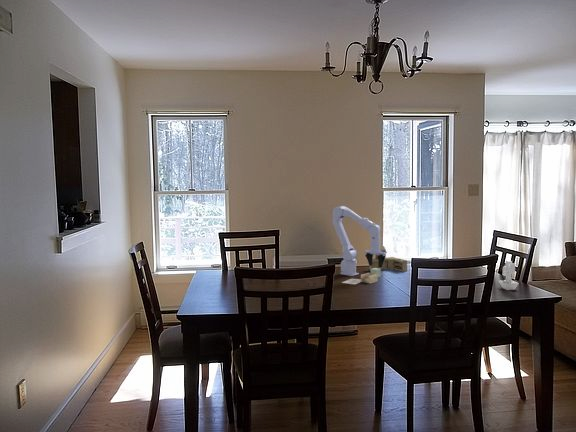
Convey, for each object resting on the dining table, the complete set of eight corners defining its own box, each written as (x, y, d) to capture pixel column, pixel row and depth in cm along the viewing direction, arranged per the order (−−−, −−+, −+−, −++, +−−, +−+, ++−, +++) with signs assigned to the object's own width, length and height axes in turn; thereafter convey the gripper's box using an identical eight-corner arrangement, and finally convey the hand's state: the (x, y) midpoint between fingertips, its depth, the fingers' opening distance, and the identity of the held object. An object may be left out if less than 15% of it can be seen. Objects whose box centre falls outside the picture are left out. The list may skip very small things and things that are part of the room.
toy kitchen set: (383, 274, 283) (382, 251, 282) (368, 270, 299) (368, 247, 297) (407, 271, 290) (407, 248, 289) (392, 267, 306) (391, 245, 304)
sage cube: (370, 276, 278) (370, 268, 278) (375, 275, 281) (374, 267, 281) (376, 277, 275) (376, 269, 274) (380, 276, 278) (380, 268, 277)
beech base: (360, 281, 266) (360, 274, 265) (368, 279, 271) (368, 272, 270) (370, 283, 261) (370, 276, 260) (377, 281, 265) (377, 274, 265)
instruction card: (341, 282, 265) (341, 282, 265) (351, 278, 274) (351, 278, 274) (355, 284, 259) (355, 284, 259) (365, 280, 269) (365, 279, 269)
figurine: (510, 286, 244) (510, 258, 243) (520, 290, 235) (520, 262, 233) (497, 286, 244) (497, 259, 243) (506, 291, 234) (506, 262, 233)
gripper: (361, 244, 279) (362, 265, 280) (380, 246, 268) (381, 268, 269) (368, 242, 284) (369, 264, 285) (388, 244, 273) (388, 266, 274)
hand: (375, 266), depth 277 cm, fingers open, 7 cm apart
